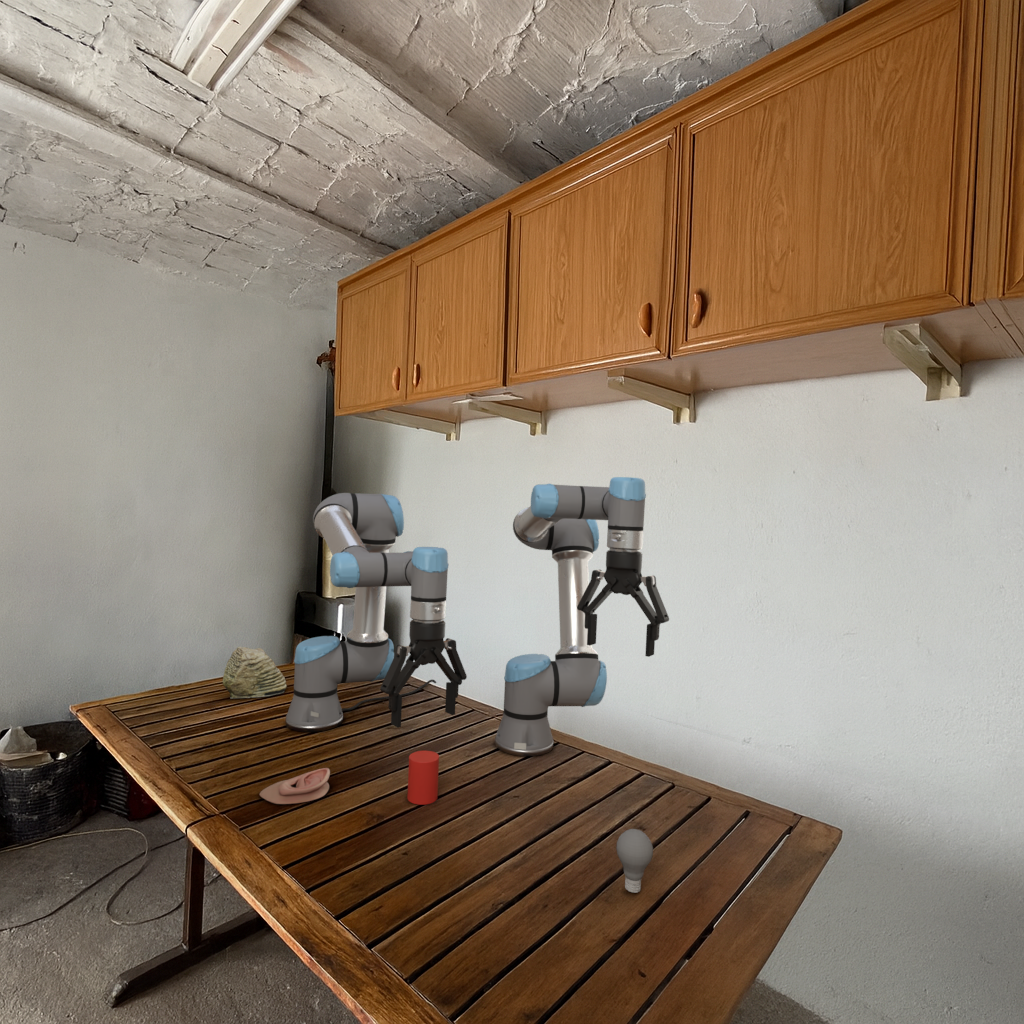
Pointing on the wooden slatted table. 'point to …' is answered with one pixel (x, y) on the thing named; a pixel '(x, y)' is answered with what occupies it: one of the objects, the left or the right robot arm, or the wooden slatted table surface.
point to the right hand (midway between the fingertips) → (619, 649)
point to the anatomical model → (298, 788)
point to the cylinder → (423, 777)
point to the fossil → (252, 674)
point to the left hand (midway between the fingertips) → (423, 719)
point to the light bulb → (634, 857)
